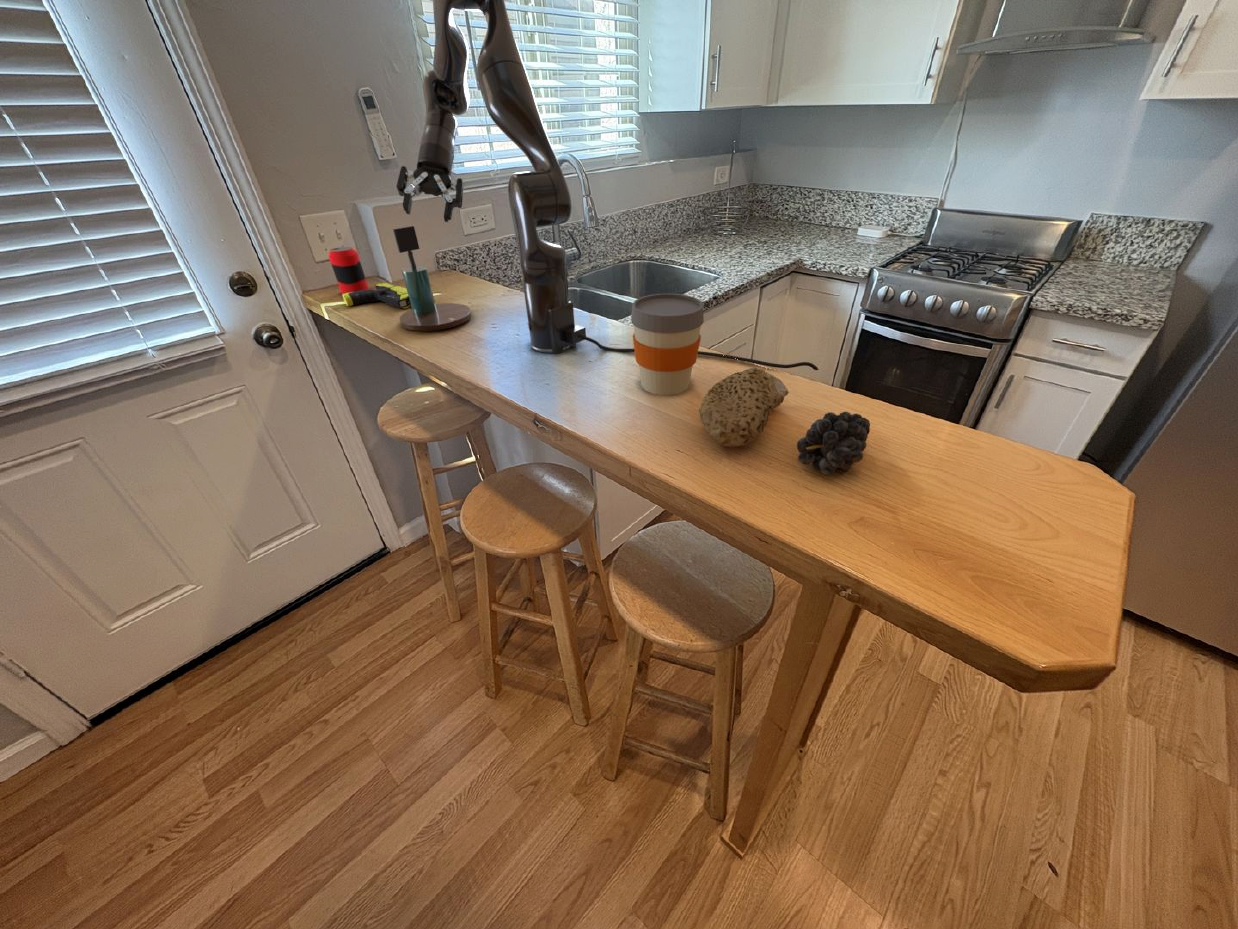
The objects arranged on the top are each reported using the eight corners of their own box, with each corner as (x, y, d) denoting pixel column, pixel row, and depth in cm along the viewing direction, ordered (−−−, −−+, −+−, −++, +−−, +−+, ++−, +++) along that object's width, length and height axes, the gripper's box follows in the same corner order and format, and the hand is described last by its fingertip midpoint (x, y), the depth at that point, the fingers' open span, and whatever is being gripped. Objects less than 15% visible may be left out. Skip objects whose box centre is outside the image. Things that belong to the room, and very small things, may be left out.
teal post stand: (484, 316, 123) (468, 228, 111) (424, 336, 113) (399, 241, 101) (446, 303, 132) (427, 220, 121) (388, 320, 122) (361, 232, 110)
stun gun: (370, 306, 124) (422, 292, 134) (335, 293, 134) (386, 280, 144) (374, 318, 126) (425, 303, 135) (339, 303, 136) (389, 290, 145)
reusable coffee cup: (675, 406, 85) (680, 321, 76) (618, 387, 91) (616, 307, 82) (710, 380, 93) (718, 300, 84) (655, 364, 99) (657, 289, 90)
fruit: (859, 379, 71) (808, 414, 63) (909, 413, 68) (862, 455, 60) (828, 421, 78) (777, 458, 69) (872, 454, 75) (825, 497, 66)
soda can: (352, 288, 149) (338, 245, 142) (374, 288, 147) (361, 246, 140) (336, 295, 143) (320, 251, 136) (359, 296, 141) (344, 252, 134)
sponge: (733, 396, 90) (665, 416, 76) (750, 357, 85) (682, 371, 72) (793, 434, 83) (732, 463, 70) (815, 394, 79) (754, 417, 66)
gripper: (401, 134, 111) (390, 198, 108) (466, 148, 113) (456, 212, 111) (408, 158, 118) (398, 219, 116) (469, 171, 121) (460, 231, 118)
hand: (426, 215), depth 113 cm, fingers open, 8 cm apart
